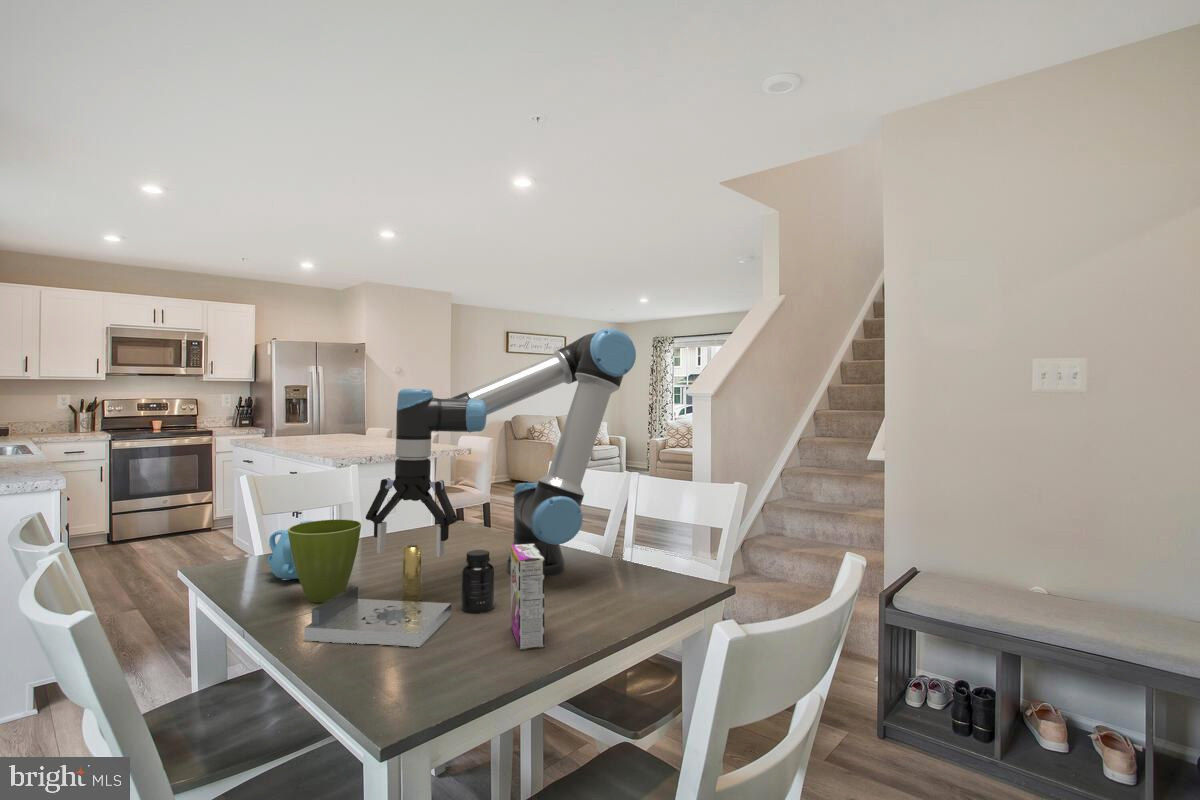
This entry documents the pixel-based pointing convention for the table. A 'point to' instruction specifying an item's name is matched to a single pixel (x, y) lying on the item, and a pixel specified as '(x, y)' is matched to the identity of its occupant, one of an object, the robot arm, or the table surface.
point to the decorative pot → (282, 556)
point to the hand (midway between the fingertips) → (410, 553)
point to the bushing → (412, 572)
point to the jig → (375, 620)
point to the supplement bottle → (477, 582)
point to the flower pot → (324, 556)
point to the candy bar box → (527, 596)
